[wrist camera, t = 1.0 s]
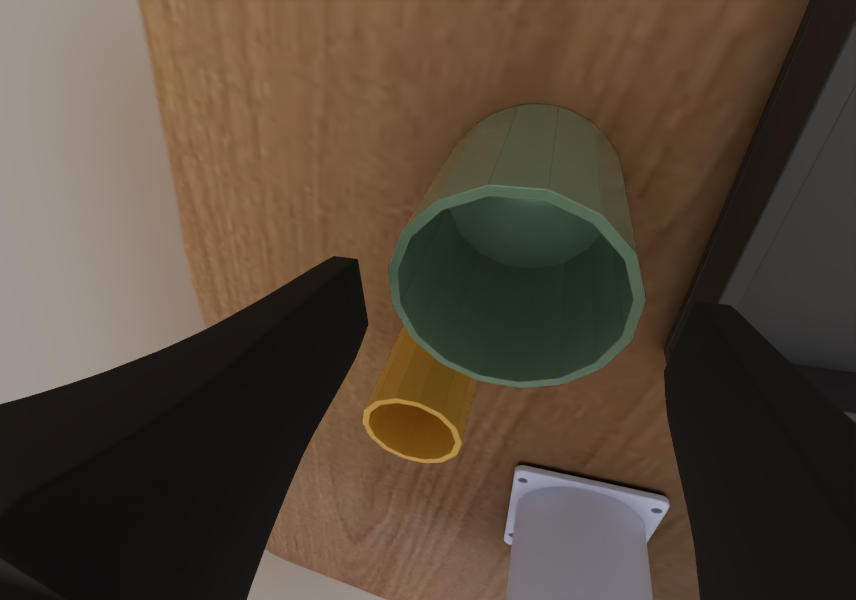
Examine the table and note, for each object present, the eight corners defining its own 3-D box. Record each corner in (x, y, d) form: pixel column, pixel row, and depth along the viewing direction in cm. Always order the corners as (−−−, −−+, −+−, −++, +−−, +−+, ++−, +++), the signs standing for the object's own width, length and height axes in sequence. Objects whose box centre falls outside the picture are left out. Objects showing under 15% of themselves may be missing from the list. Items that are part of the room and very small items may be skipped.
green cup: (601, 276, 16) (609, 404, 12) (445, 258, 17) (398, 367, 13) (645, 106, 12) (681, 199, 8) (443, 100, 14) (376, 176, 9)
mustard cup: (484, 367, 21) (461, 471, 17) (408, 353, 22) (368, 450, 17) (488, 306, 18) (462, 411, 14) (403, 295, 19) (355, 390, 15)
